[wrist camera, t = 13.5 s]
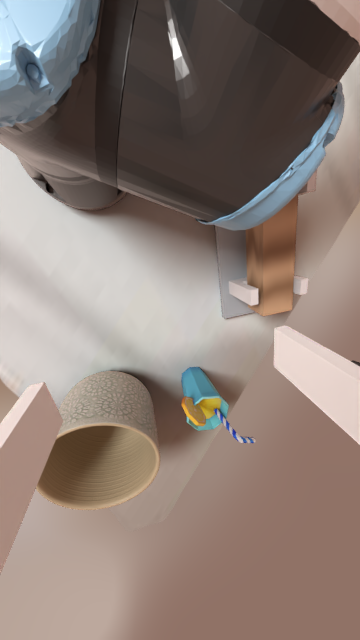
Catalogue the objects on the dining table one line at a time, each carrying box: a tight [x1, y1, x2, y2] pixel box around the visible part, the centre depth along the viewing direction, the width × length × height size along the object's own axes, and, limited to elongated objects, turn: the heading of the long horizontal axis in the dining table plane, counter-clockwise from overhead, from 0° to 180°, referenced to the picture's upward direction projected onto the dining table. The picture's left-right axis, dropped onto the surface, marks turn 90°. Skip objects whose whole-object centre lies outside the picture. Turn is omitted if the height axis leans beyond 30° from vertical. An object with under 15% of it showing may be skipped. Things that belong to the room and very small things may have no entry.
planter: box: [36, 371, 160, 510], centre depth 36 cm, size 17×17×15 cm
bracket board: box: [215, 170, 317, 319], centre depth 33 cm, size 26×12×9 cm, turn 9°
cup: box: [181, 367, 256, 443], centre depth 39 cm, size 14×8×15 cm, turn 63°
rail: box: [246, 193, 298, 316], centre depth 32 cm, size 20×5×5 cm, turn 9°
